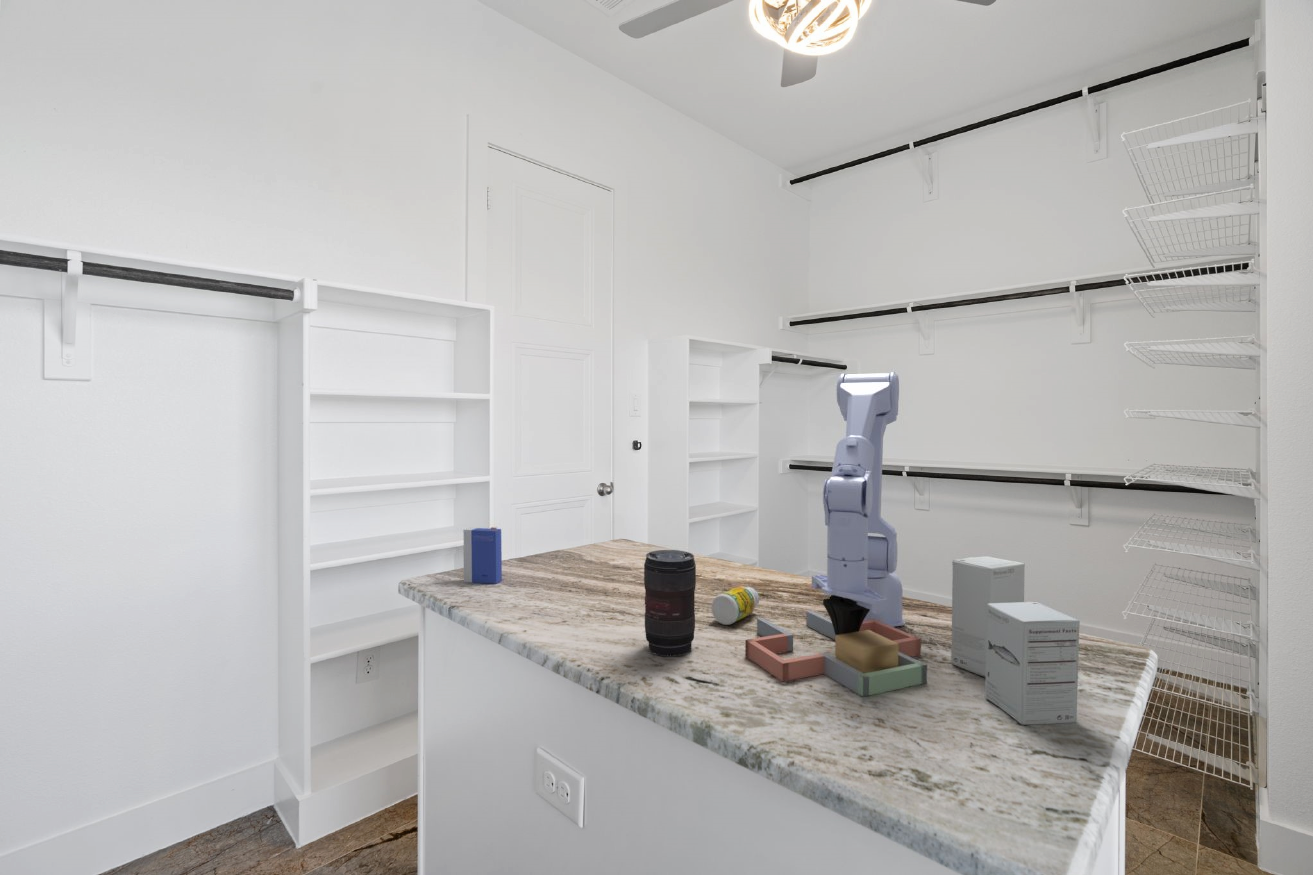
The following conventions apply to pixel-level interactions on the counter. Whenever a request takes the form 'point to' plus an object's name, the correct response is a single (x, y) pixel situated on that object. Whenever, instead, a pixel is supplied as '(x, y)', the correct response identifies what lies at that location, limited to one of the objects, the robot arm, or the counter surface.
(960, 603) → the skincare box
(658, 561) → the camera lens
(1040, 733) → the counter surface
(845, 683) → the plus maze
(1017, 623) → the supplement box
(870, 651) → the oak block
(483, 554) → the walkman
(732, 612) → the supplement bottle
